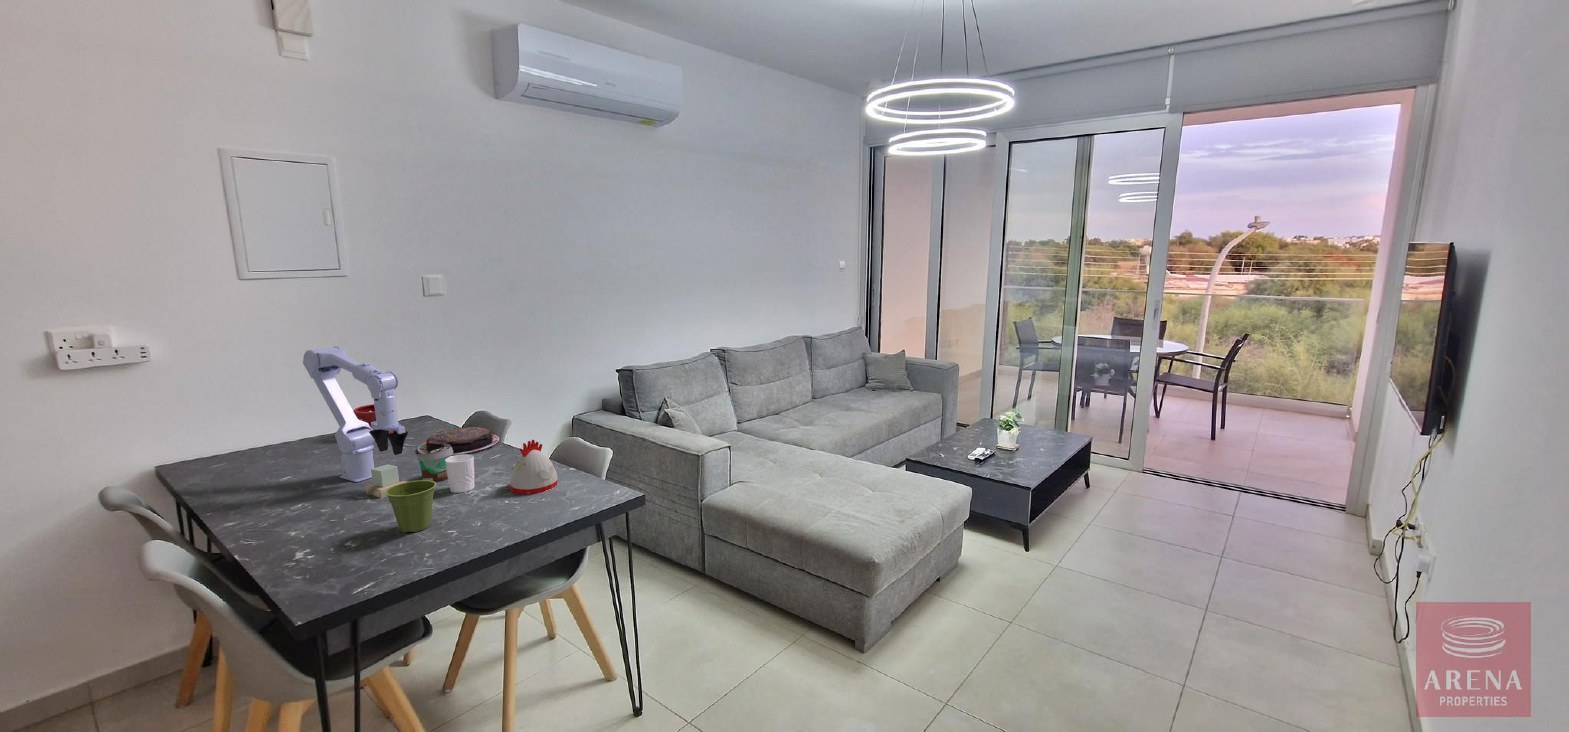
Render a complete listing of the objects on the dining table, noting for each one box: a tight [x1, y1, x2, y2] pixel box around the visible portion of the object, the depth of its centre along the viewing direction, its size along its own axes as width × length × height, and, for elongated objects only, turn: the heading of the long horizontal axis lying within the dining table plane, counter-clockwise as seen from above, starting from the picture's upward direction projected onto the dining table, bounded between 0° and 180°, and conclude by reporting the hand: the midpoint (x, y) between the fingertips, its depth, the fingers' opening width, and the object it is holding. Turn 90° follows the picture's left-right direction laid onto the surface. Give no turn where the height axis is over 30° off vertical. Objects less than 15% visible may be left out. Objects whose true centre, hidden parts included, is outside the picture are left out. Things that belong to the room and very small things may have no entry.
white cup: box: [445, 454, 476, 494], centre depth 193 cm, size 8×8×10 cm
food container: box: [417, 444, 453, 483], centre depth 202 cm, size 12×6×10 cm, turn 168°
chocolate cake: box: [417, 425, 500, 456], centre depth 237 cm, size 28×28×7 cm
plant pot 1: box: [353, 403, 393, 434], centre depth 250 cm, size 13×13×12 cm
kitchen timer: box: [509, 439, 559, 495], centre depth 195 cm, size 14×14×15 cm
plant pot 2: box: [385, 479, 438, 533], centre depth 166 cm, size 12×12×11 cm
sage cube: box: [371, 463, 400, 487], centre depth 191 cm, size 5×5×5 cm
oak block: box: [364, 479, 408, 499], centre depth 192 cm, size 8×8×3 cm
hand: (390, 452), depth 198 cm, fingers open, 7 cm apart
